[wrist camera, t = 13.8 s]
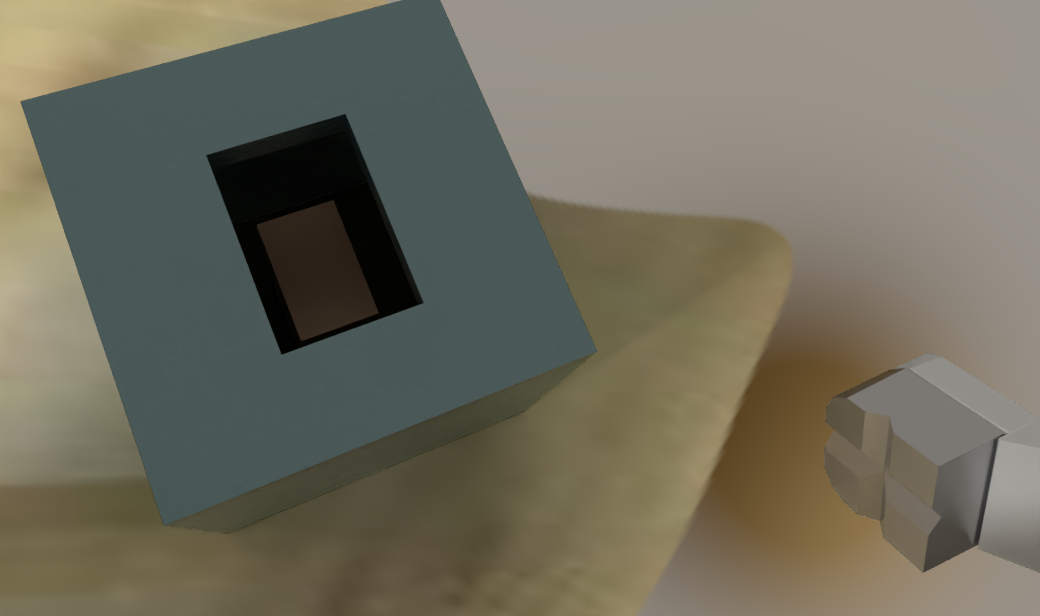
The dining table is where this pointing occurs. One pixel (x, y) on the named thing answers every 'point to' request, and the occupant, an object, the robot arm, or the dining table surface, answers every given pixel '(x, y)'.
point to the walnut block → (317, 274)
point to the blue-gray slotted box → (282, 184)
